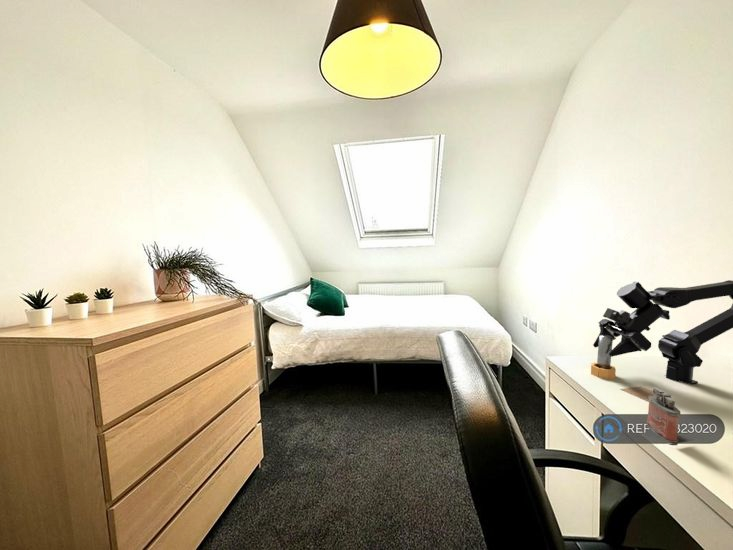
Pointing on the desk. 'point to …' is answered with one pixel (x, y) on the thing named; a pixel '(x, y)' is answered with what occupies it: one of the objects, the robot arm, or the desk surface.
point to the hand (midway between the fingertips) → (601, 350)
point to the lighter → (663, 416)
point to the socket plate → (603, 371)
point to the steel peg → (604, 351)
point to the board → (639, 392)
